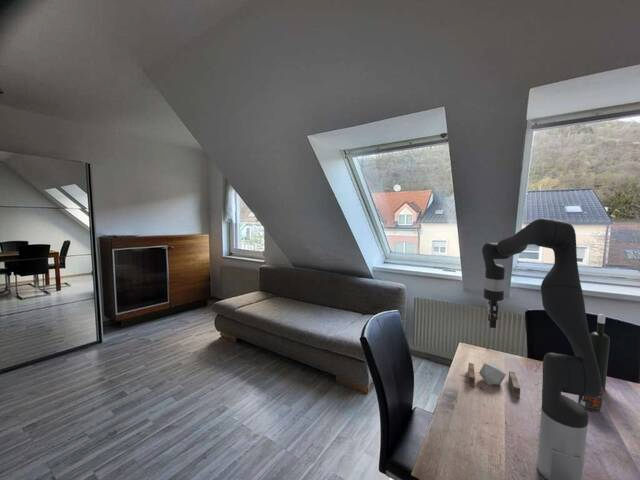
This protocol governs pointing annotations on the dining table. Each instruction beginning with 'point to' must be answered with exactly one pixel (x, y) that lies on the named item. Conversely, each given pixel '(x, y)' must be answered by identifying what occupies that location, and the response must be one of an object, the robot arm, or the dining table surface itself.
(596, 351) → the wine bottle
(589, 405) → the supplement bottle
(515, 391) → the pair of wooden rails
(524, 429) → the dining table surface
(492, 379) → the die
